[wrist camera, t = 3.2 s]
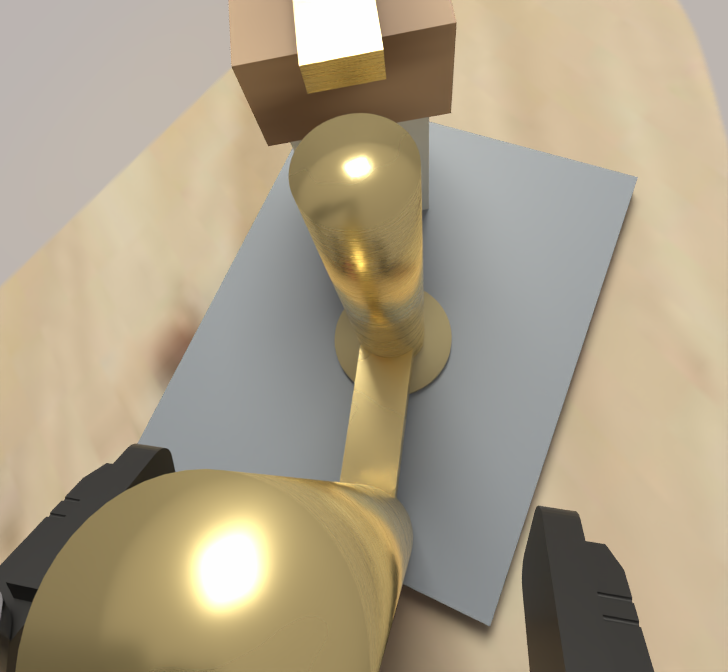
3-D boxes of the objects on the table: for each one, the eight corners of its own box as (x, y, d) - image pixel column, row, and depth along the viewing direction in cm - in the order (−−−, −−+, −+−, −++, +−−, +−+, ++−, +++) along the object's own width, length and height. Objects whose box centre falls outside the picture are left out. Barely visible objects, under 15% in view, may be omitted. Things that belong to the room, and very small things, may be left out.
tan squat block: (268, 146, 15) (231, 66, 12) (258, 9, 17) (224, -89, 14) (450, 112, 15) (456, 22, 12) (422, -24, 16) (421, -132, 14)
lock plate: (144, 453, 20) (8, 435, 13) (325, 105, 24) (287, -38, 17) (486, 620, 17) (524, 701, 10) (629, 188, 21) (722, 51, 14)
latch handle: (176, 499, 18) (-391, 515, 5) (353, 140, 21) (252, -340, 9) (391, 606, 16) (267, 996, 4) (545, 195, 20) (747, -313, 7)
